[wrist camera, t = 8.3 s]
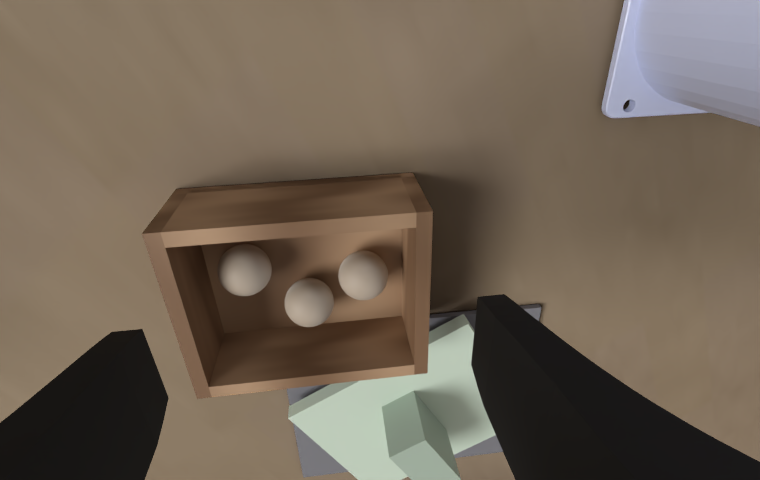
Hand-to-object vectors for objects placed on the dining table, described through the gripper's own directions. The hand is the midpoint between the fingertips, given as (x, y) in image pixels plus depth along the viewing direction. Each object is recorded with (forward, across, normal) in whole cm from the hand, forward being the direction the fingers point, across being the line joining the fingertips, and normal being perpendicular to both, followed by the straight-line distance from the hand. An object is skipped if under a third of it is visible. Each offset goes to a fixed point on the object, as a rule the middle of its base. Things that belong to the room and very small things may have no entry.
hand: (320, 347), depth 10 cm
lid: (+10, -4, +14) cm, 17 cm away
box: (+10, +1, +4) cm, 11 cm away
